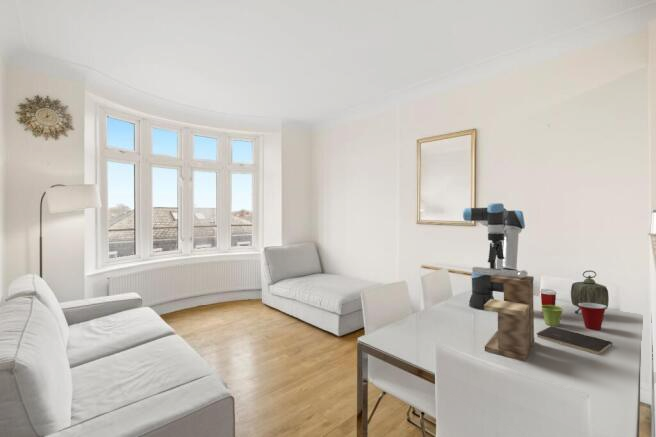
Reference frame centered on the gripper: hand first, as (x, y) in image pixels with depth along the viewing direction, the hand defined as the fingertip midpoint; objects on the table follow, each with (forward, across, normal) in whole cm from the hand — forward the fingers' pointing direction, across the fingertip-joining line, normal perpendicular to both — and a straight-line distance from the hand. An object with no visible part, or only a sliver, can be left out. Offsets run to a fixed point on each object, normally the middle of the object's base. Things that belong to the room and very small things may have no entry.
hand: (496, 273), depth 162 cm
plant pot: (+27, +18, -22) cm, 39 cm away
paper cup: (+27, +33, -18) cm, 46 cm away
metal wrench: (-3, -19, -5) cm, 20 cm away
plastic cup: (+27, +23, -37) cm, 52 cm away
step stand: (+27, -24, -11) cm, 38 cm away
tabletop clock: (+27, +46, -36) cm, 64 cm away
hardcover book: (+28, -1, -31) cm, 42 cm away
